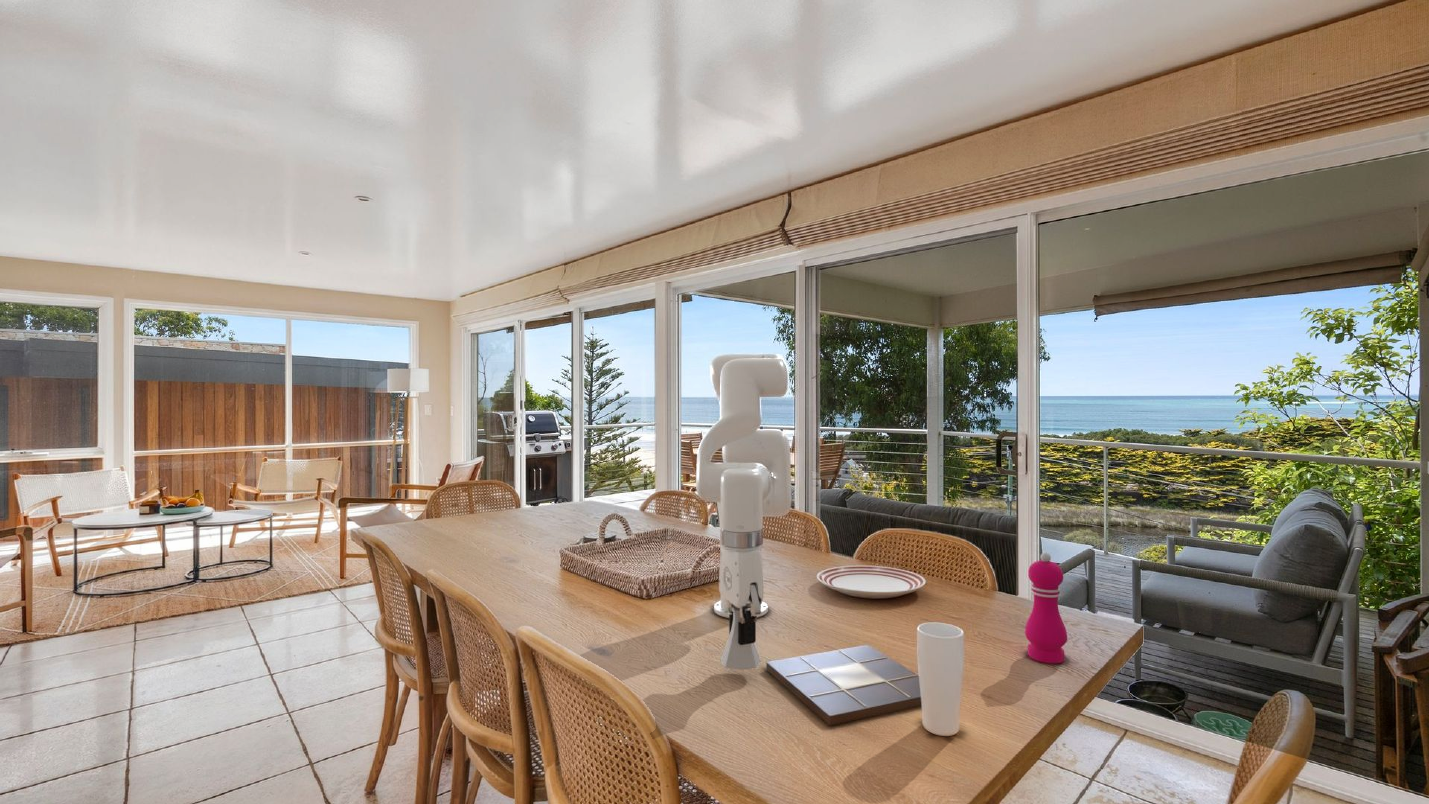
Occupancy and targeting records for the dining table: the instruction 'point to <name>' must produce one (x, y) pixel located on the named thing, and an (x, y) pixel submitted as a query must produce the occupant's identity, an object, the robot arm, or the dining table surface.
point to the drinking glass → (940, 676)
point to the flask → (739, 649)
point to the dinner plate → (871, 581)
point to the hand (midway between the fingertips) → (742, 638)
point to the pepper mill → (1045, 613)
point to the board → (848, 683)
